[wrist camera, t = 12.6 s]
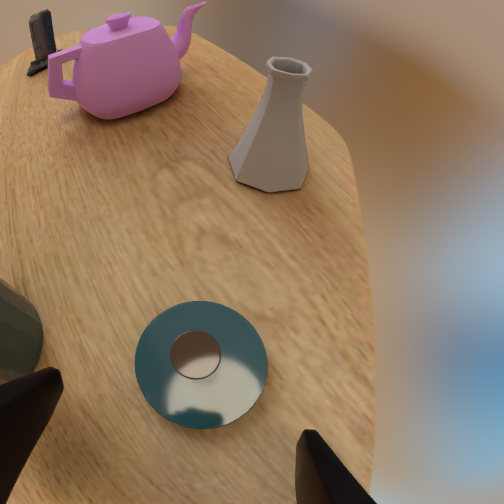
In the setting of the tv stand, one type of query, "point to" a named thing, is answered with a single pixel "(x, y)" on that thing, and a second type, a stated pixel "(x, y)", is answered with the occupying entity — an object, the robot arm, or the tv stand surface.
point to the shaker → (17, 334)
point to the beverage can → (41, 39)
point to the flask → (275, 132)
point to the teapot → (123, 65)
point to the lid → (201, 364)
